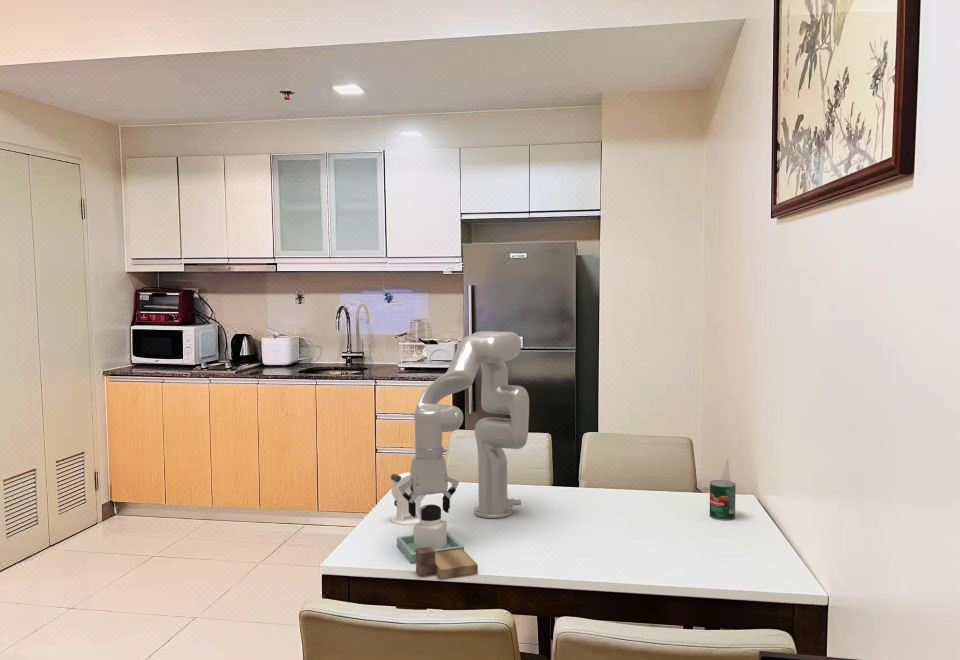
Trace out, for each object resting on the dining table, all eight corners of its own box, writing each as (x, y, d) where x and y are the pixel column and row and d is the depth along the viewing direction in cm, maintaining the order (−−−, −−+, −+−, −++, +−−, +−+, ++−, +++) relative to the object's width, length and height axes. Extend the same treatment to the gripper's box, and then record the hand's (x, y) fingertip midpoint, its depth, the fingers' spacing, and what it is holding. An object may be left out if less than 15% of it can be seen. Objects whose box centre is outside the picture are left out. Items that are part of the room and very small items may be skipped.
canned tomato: (708, 519, 228) (708, 484, 228) (710, 512, 236) (710, 478, 235) (734, 521, 225) (735, 487, 225) (735, 514, 233) (736, 481, 232)
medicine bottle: (447, 545, 204) (446, 503, 204) (437, 554, 198) (436, 511, 197) (424, 542, 207) (423, 501, 206) (413, 551, 200) (413, 508, 199)
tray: (446, 538, 212) (446, 530, 212) (464, 555, 198) (464, 546, 198) (396, 545, 206) (396, 537, 206) (411, 563, 192) (411, 554, 192)
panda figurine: (417, 511, 239) (417, 466, 238) (434, 520, 229) (434, 473, 229) (385, 517, 232) (384, 472, 232) (401, 527, 223) (400, 479, 222)
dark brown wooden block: (430, 569, 188) (430, 546, 188) (435, 574, 185) (435, 551, 184) (416, 571, 187) (415, 548, 187) (420, 576, 183) (420, 553, 183)
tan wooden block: (462, 559, 196) (462, 548, 196) (477, 575, 185) (477, 564, 185) (427, 564, 193) (427, 553, 192) (440, 581, 181) (440, 569, 181)
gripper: (453, 447, 207) (453, 506, 208) (395, 453, 201) (395, 513, 202) (462, 453, 200) (462, 513, 201) (402, 458, 194) (403, 521, 195)
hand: (429, 513), depth 201 cm, fingers open, 9 cm apart
